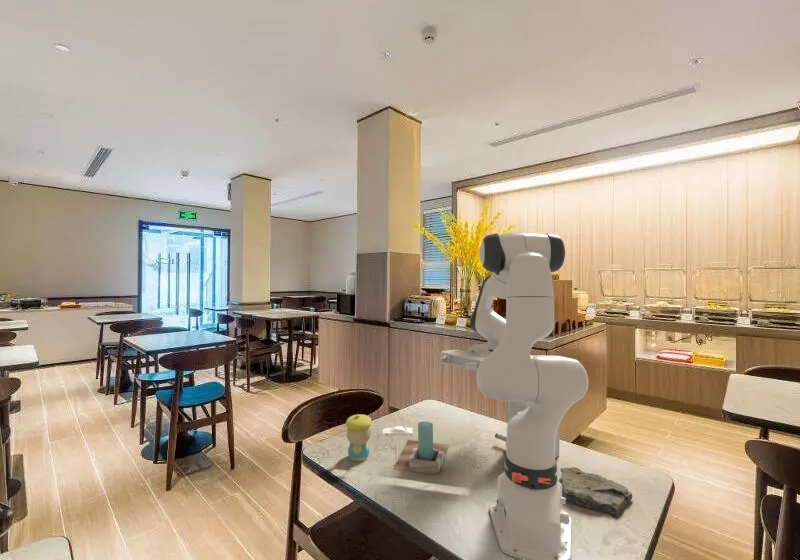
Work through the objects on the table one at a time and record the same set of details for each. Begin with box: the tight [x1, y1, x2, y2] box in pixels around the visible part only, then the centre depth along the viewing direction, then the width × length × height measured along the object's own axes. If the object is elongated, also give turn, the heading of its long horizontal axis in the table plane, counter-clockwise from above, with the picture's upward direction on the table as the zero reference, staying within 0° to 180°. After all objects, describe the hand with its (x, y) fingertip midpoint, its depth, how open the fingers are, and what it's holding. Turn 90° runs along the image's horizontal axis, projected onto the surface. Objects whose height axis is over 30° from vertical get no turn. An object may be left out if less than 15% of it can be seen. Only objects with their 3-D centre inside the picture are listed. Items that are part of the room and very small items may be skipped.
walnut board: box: [392, 439, 450, 477], centre depth 117 cm, size 20×14×4 cm
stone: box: [559, 466, 633, 518], centre depth 99 cm, size 18×15×4 cm
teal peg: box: [417, 421, 434, 461], centre depth 112 cm, size 4×4×12 cm
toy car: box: [382, 425, 414, 436], centre depth 135 cm, size 6×12×3 cm, turn 87°
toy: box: [345, 413, 373, 462], centre depth 116 cm, size 8×9×15 cm
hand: (452, 364), depth 119 cm, fingers open, 8 cm apart
